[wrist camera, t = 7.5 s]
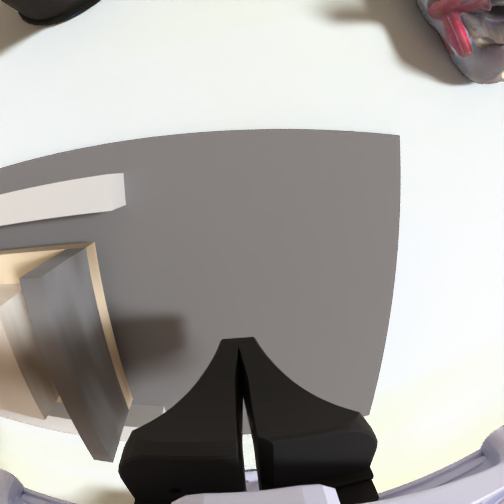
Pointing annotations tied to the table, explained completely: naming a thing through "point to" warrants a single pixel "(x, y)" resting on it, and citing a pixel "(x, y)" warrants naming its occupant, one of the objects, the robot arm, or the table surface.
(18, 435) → the table surface
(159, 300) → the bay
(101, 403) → the grey beige angular piece
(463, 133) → the table surface
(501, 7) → the brake caliper
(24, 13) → the aerosol can
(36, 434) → the table surface
